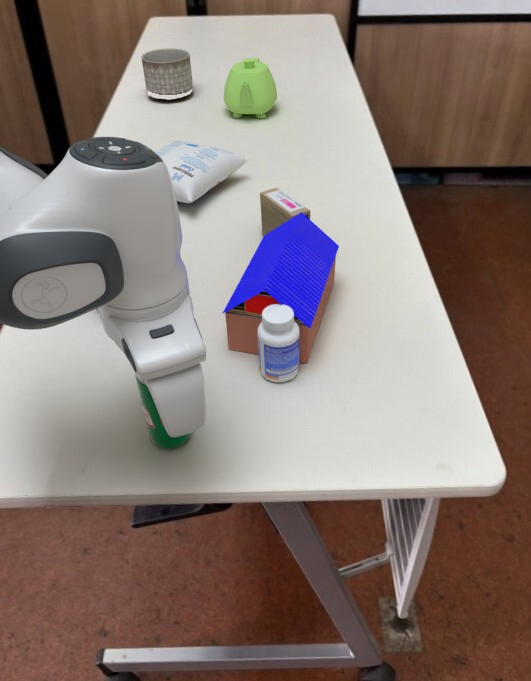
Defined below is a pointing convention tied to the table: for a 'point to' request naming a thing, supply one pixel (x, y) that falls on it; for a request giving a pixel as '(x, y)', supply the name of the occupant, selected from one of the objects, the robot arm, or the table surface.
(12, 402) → the table surface
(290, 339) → the pill bottle
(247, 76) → the teapot
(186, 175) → the pouch
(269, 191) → the ink box
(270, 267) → the house
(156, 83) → the planter
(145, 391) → the soda can
